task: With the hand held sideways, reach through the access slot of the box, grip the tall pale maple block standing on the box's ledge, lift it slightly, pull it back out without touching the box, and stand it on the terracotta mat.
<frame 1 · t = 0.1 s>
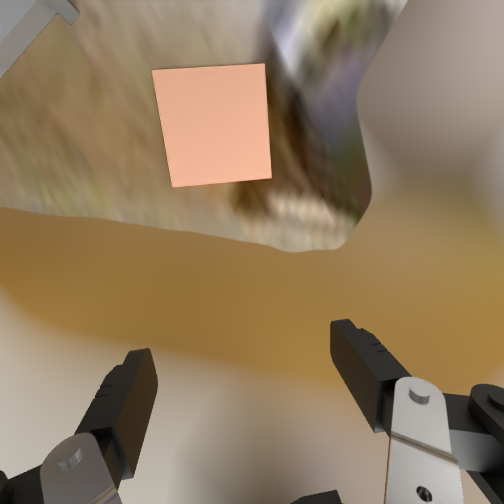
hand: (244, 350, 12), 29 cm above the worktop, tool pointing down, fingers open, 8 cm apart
terracotta mat: (216, 128, 35), on the worktop
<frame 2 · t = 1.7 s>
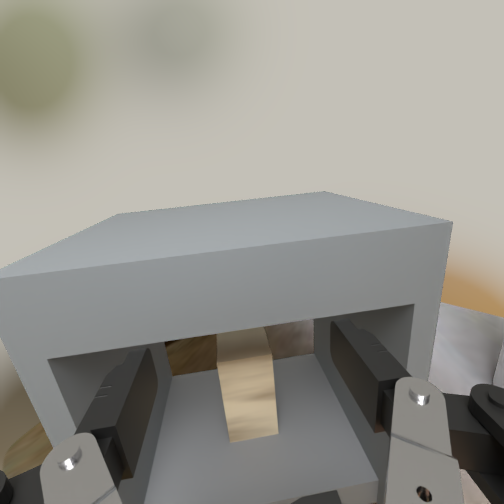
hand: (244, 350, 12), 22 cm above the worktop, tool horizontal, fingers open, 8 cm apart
maple block: (251, 416, 29), point 3 cm above the worktop, touching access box
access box: (254, 435, 30), on the worktop
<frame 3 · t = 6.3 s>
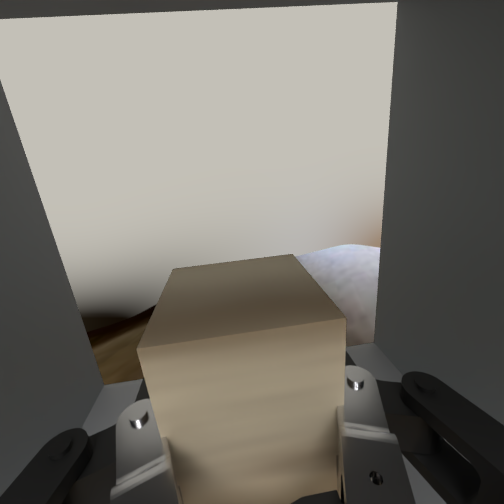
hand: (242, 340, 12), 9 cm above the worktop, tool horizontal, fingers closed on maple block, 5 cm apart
maple block: (261, 488, 12), point 3 cm above the worktop, touching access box, gripper
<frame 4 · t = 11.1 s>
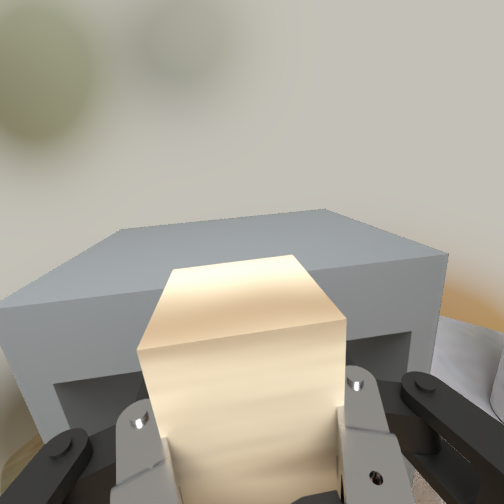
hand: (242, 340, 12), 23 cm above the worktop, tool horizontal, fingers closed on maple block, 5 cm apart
maple block: (261, 489, 12), point 17 cm above the worktop, touching gripper
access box: (252, 451, 30), on the worktop
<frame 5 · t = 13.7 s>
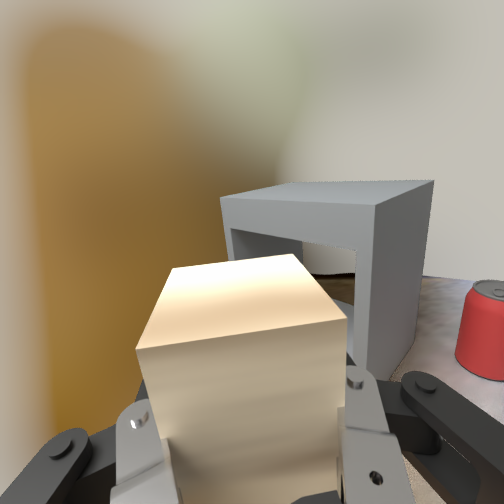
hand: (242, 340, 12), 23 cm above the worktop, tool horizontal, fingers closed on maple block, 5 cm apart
maple block: (261, 489, 12), point 17 cm above the worktop, touching gripper
beer can: (482, 365, 37), on the worktop
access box: (323, 337, 46), on the worktop
when the fingers open (8 cm above the worktop, at t = 16.0 s): maple block drops 1 cm, resting on terracotta mat.
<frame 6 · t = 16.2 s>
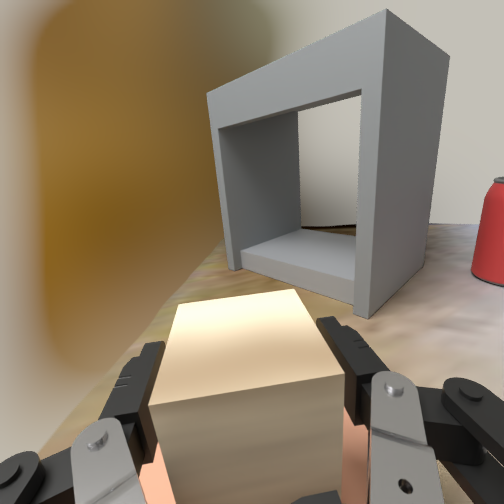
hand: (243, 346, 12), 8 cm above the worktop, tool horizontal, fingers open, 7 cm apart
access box: (322, 265, 41), on the worktop
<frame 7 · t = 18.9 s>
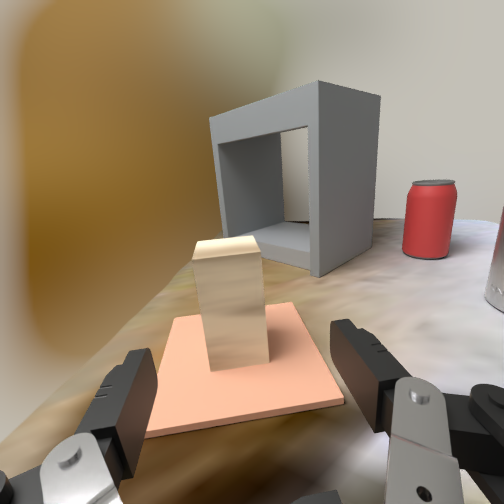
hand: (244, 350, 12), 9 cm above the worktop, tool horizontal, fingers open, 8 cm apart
terracotta mat: (239, 353, 25), on the worktop
maple block: (238, 348, 24), point 1 cm above the worktop, touching terracotta mat
beer can: (423, 255, 45), on the worktop
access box: (297, 248, 53), on the worktop
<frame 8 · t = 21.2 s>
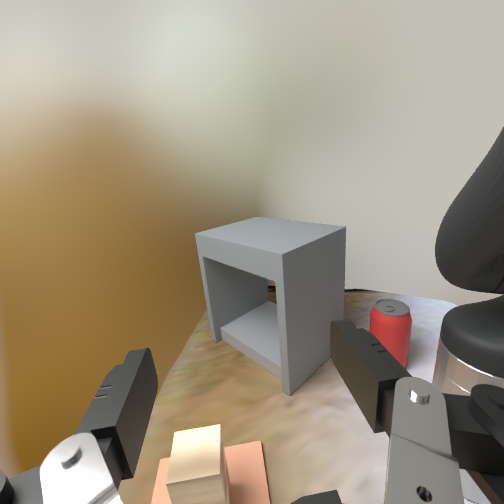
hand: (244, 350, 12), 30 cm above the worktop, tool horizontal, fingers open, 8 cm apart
beer can: (386, 362, 50), on the worktop
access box: (276, 340, 59), on the worktop
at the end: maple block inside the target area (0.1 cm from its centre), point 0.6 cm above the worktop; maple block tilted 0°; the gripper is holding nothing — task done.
